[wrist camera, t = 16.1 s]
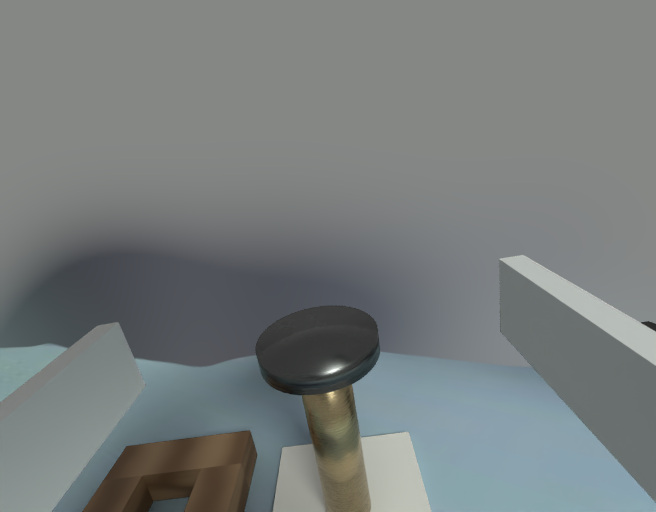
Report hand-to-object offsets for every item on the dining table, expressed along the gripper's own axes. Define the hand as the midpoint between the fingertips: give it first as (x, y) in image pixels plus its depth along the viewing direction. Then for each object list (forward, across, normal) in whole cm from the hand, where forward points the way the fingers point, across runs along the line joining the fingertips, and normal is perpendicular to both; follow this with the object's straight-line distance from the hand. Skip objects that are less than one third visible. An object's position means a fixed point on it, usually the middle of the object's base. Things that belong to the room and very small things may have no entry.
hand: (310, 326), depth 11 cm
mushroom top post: (+11, -2, -25) cm, 27 cm away
